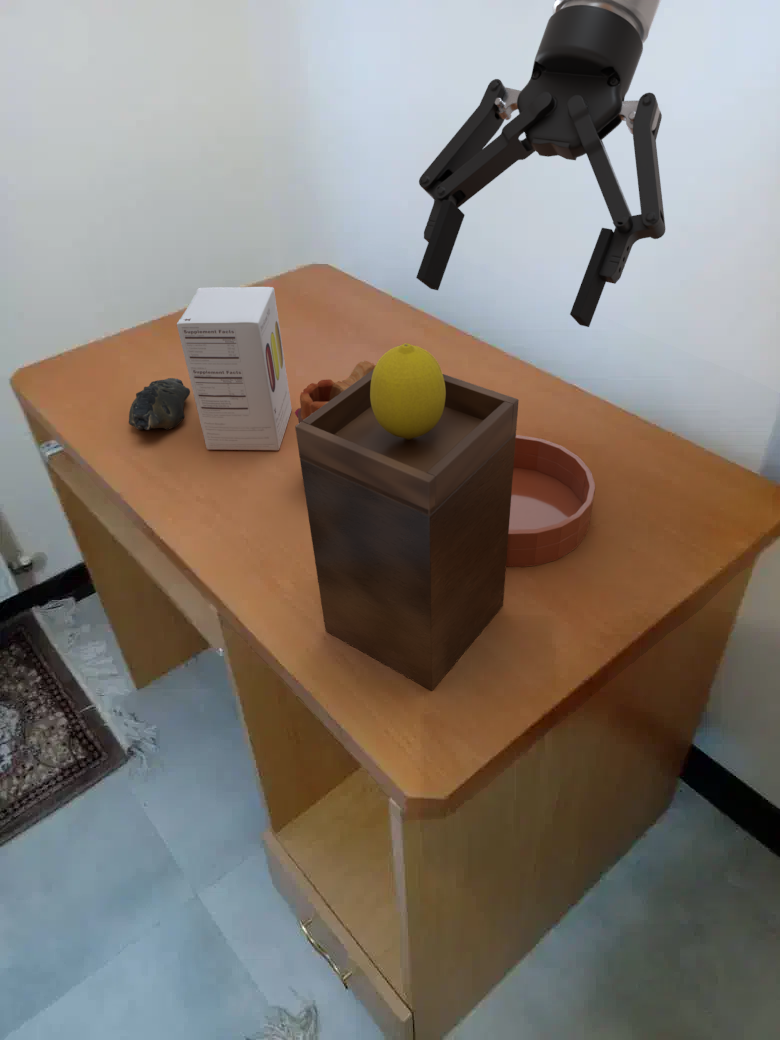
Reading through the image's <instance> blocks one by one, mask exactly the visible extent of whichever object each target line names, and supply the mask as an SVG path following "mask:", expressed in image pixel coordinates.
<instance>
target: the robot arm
mask: <svg viewBox="0 0 780 1040" xmlns="http://www.w3.org/2000/svg"><path fill="white" fill-rule="evenodd" d="M661 1H662V0H554V3H553V6H552V15H551V16H550V17H549V19H548V20H547V23H546V26H545V29H544V31H543V35H542V37H541V40H540V44H539V46H538V49H537V52H536V55H535V57H534V61H533V65H532V70H531V75H530V78H529V80H528V82H527V84H525V86H524V87H523V88H522V89H521V90H519V89H515V88H511V87H506V86H505V85H504V84H503V82H502V80H501V79H500V78H495V79H492V80H491V81H490V82H489V83H488V85H487V87H486V90H485V91H484V94H483V96H482V98H481V101H480V103H479V105H478V106H477V108H476V109H475V110H474V111H473V112H472V113H471V115H470V116H469V117H468V119H466V121H465V122H464V123H463V124H462V126H461V127H460V128H459V129H458V130H457V131H456V133H455V134H454V136H452V138H451V139H450V140H449V141H448V143H447V144H446V145H445V146H444V148H443V149H442V150H441V151H440V152H439V153H438V155H437V156H436V157H435V158H434V160H433V161H432V162H431V164H430V165H429V166H428V167H427V168H426V169H425V170H424V172H423V173H422V174H421V176H420V177H419V180H418V184H419V186H420V187H421V188H422V189H423V190H424V192H426V193H427V194H428V195H429V196H430V197H431V198H432V199H433V205H432V208H431V210H430V213H429V216H428V219H427V222H426V225H425V226H424V227H425V228H424V230H423V239H424V240H425V241H426V242H427V246H426V248H425V251H424V254H423V257H422V260H421V263H420V265H419V268H418V272H417V274H416V277H415V278H416V279H417V280H418V281H420V283H422V284H424V285H425V286H426V287H427V288H429V289H430V290H434V291H439V290H440V287H441V284H442V280H443V278H444V275H445V272H446V269H447V267H448V263H449V261H450V258H451V255H452V253H453V250H454V247H455V244H456V241H457V238H458V235H459V233H460V229H461V226H462V224H463V221H464V218H465V216H466V214H465V213H464V212H463V211H462V210H461V209H460V207H462V206H463V204H465V203H466V202H467V201H469V200H470V199H472V197H474V196H475V195H476V194H478V193H479V192H480V191H481V190H483V189H484V188H485V187H486V186H488V185H489V184H491V182H493V181H494V180H495V179H496V178H498V177H499V176H500V175H502V174H503V173H504V172H506V171H507V170H508V169H509V168H510V167H512V166H513V165H514V164H515V163H516V162H518V161H524V160H526V159H527V158H528V157H530V156H531V155H532V154H534V153H535V152H536V153H537V154H538V156H540V157H555V156H558V157H559V156H560V157H561V158H563V159H565V160H570V161H577V159H578V158H580V157H582V156H584V155H586V157H587V159H588V161H589V164H590V166H591V169H592V171H593V174H594V177H595V180H596V182H597V185H598V187H599V189H600V192H601V194H602V197H603V200H604V202H605V205H606V208H607V210H608V213H609V215H610V217H611V221H612V224H613V226H614V227H615V228H614V230H613V229H612V228H607V227H601V229H600V232H599V235H598V237H597V240H596V242H595V246H594V248H593V250H592V254H591V256H590V259H589V261H588V264H587V267H586V270H585V272H584V275H583V278H582V280H581V283H580V286H579V289H578V291H577V294H576V297H575V299H574V302H573V305H572V308H571V310H570V313H569V315H570V316H571V317H572V318H573V319H574V321H576V323H577V324H578V325H579V326H582V327H587V328H590V326H591V324H592V320H593V317H594V315H595V312H596V310H597V307H598V304H599V302H600V299H601V296H602V293H603V291H604V289H605V286H606V283H608V284H609V283H610V284H613V285H615V284H617V282H618V281H619V280H620V279H621V277H622V274H623V272H624V269H625V266H626V265H627V261H628V259H629V256H630V254H631V250H632V247H633V246H634V244H635V243H636V242H637V241H639V240H643V239H648V238H650V239H653V240H658V239H660V238H662V237H663V236H664V235H665V233H666V221H665V212H664V204H663V203H664V202H663V193H662V185H661V184H662V183H661V175H660V167H659V165H660V164H659V158H658V156H659V155H658V148H657V147H658V146H657V138H658V133H659V131H660V130H659V129H660V126H661V122H662V118H663V115H662V111H661V108H660V106H659V103H658V100H657V98H656V94H654V93H653V92H645V93H644V94H642V95H641V96H640V97H639V100H625V98H626V96H627V93H628V92H629V90H630V87H631V85H632V82H633V80H634V76H635V74H636V71H637V68H638V65H639V63H640V60H641V57H642V56H643V55H642V54H643V51H644V43H645V42H646V41H647V39H649V38H648V37H649V36H650V32H651V30H652V26H653V24H654V21H655V18H656V16H657V13H658V9H659V7H660V5H661ZM516 110H518V113H519V114H518V115H516V116H515V117H513V118H512V114H513V113H514V111H516ZM511 118H512V119H511ZM509 120H510V121H509ZM504 121H509V122H507V123H506V124H505V125H504V126H503V124H504ZM623 121H624V122H625V124H626V127H627V129H628V132H629V133H630V134H631V135H632V140H633V150H634V157H635V158H634V159H635V169H636V178H637V186H638V197H639V206H640V213H639V214H635V215H632V212H631V210H630V207H629V205H628V203H627V199H626V198H625V195H624V192H623V190H622V187H621V185H620V182H619V180H618V177H617V175H616V173H615V169H614V167H613V165H612V163H611V159H610V156H609V154H608V152H607V150H606V147H605V144H604V142H603V140H604V139H605V138H606V137H607V136H608V135H610V133H612V132H613V131H614V130H615V129H616V128H617V127H618V126H619V125H621V123H622V122H623ZM502 126H503V128H502V129H501V133H500V134H499V135H498V136H496V138H494V139H493V137H494V136H495V135H496V133H498V131H499V130H500V128H501V127H502ZM522 134H524V135H525V136H524V137H525V138H523V139H520V136H522ZM492 139H493V140H492ZM491 140H492V141H491ZM490 141H491V142H490Z"/></svg>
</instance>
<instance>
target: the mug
mask: <svg viewBox="0 0 780 1040" xmlns="http://www.w3.org/2000/svg"><path fill="white" fill-rule="evenodd" d="M375 366H376V364H375V363H374V362H371V361H368V360H361V361H360V362H358V363H357V364H356V365H355V367H354V368H353V370H352V371H351V373H350V375H349V376H348V377H347V378H346V379H344V380H343V381H340V380H339V381H336V382H335V381H333V380H332V379H321V380H319V381H318V382H317V383H314V382H312V383H311V382H310V383H309V384H308V385H307V386H306V388H304V389H303V391H301V393H300V395H299V403H300V407H299V408H297V409H296V410H295V411H294V414H295V417H296V418H297V421H298V424H299V423H300V422H302V421H303V420H304V419H306V418H307V417H308V416H310V415H311V414H312V413H314V412H315V411H317V410H318V409H319V408H321V407H322V406H324V405H325V404H326V403H328V402H329V401H330V400H332V399H333V398H335V397H336V396H337V395H339V394H340V393H341V392H343V391H344V390H346V389H347V388H348V387H350V386H351V385H353V384H354V383H355V382H357V381H358V380H359V379H361V378H362V377H364V376H365V375H366V374H368V373H369V372H371V371H372V370H373V369H374V368H375Z"/></svg>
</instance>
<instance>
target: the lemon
mask: <svg viewBox="0 0 780 1040" xmlns="http://www.w3.org/2000/svg"><path fill="white" fill-rule="evenodd" d="M375 365H376V366H375V368H374V371H373V374H372V379H371V387H370V400H371V406H372V409H373V412H374V415H375V417H376V419H377V421H378V423H379V424H380V425H381V426H382V427H383V428H384V429H385V430H386V431H387V432H389V433H391V434H392V435H394V436H397V437H401V438H405V439H407V440H411V439H413V438H416V437H419V436H422V435H424V434H426V433H427V432H429V431H430V430H431V429H432V428H433V427H434V426H435V425H436V424H437V423H438V421H439V419H440V418H441V415H442V413H443V410H444V405H445V397H446V388H445V382H444V377H443V374H444V373H443V371H442V368H441V365H440V364H439V362H438V360H437V359H436V358H435V356H434V355H433V354H431V352H429V351H427V350H426V349H425V348H423V347H420V346H418V345H413V344H410V343H408V342H405V343H402V344H401V345H397V346H394V347H392V348H391V349H389V350H387V351H386V352H385V353H384V354H383V355H382V356H381V357H380V358H379V359H378V360H377V362H376V364H375Z"/></svg>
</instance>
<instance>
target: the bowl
mask: <svg viewBox="0 0 780 1040" xmlns="http://www.w3.org/2000/svg"><path fill="white" fill-rule="evenodd" d="M595 493H596V483H595V480H594V477H593V473H592V471H591V469H590V468H589V466H587V464H586V463H585V462H584V461H583V460H582V458H581V457H580V456H578V455H577V454H575V453H573V452H572V451H570V450H569V449H567V448H566V447H564V446H563V445H560V444H557V443H555V442H552V441H549V440H546V439H543V438H540V437H534V436H526V435H520V434H516V440H515V453H514V467H513V480H512V493H511V507H510V520H509V533H508V547H507V560H506V567H511V568H513V567H519V568H520V567H521V568H523V567H533V566H534V567H535V566H539V565H544V564H548V563H550V562H554V561H556V560H559V559H562V558H563V557H565V556H567V555H568V554H571V552H572V551H574V550H575V549H576V548H577V547H578V546H579V545H580V544H581V543H582V542H583V540H584V539H585V537H586V535H587V533H588V531H589V526H590V521H591V517H592V511H593V506H594V498H595Z"/></svg>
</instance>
